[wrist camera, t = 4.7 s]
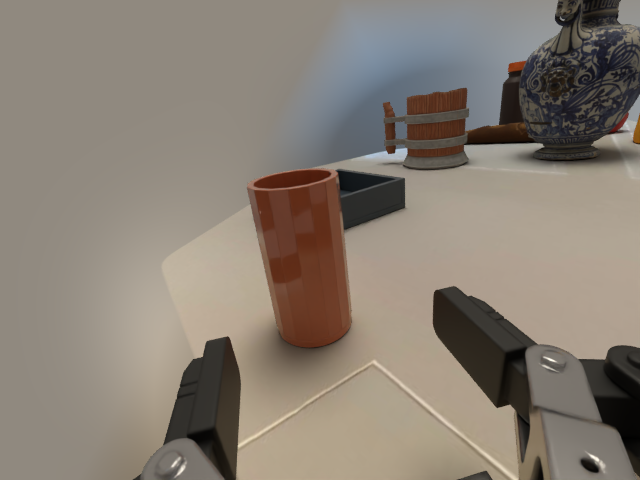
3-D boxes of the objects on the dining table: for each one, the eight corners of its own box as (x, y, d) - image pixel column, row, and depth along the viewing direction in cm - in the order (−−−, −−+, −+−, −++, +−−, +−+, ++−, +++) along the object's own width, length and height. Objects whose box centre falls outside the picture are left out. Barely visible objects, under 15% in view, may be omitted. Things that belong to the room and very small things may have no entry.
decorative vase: (535, 146, 75) (556, 8, 64) (641, 147, 61) (691, -30, 50) (490, 163, 64) (505, 0, 53) (605, 170, 50) (658, -51, 39)
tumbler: (301, 361, 20) (270, 195, 15) (266, 319, 24) (234, 182, 20) (367, 323, 22) (356, 172, 18) (324, 292, 27) (307, 165, 23)
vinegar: (503, 134, 100) (510, 64, 92) (526, 133, 95) (537, 59, 87) (494, 137, 96) (501, 64, 88) (518, 136, 91) (527, 60, 83)
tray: (310, 242, 37) (305, 208, 36) (260, 215, 50) (254, 190, 48) (405, 207, 45) (404, 178, 43) (341, 191, 57) (339, 168, 56)
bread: (599, 137, 75) (604, 116, 73) (599, 141, 72) (605, 118, 70) (440, 143, 98) (440, 126, 96) (434, 146, 94) (435, 128, 92)
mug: (458, 170, 62) (463, 88, 56) (372, 169, 73) (369, 100, 67) (474, 157, 72) (479, 86, 66) (396, 158, 83) (395, 97, 77)
